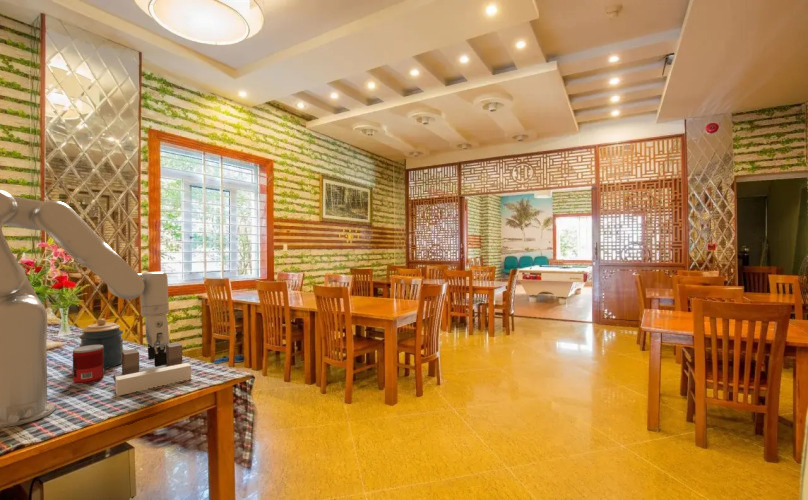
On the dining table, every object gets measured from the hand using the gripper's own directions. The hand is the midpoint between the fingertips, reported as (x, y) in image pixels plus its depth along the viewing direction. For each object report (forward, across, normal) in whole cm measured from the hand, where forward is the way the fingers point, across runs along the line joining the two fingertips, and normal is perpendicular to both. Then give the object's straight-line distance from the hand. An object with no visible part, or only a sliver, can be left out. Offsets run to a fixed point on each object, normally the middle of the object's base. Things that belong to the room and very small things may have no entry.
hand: (157, 362), depth 121 cm
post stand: (+7, +14, -1) cm, 16 cm away
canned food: (+7, +21, +16) cm, 27 cm away
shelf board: (+8, 0, +1) cm, 8 cm away
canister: (+7, +38, +11) cm, 40 cm away
